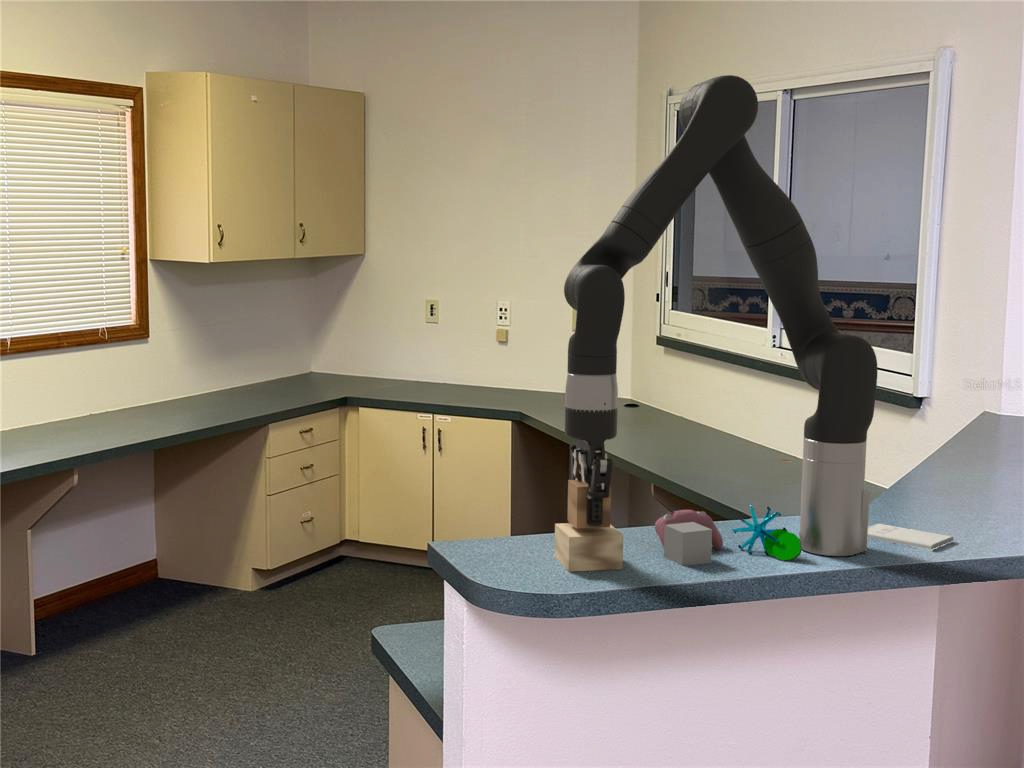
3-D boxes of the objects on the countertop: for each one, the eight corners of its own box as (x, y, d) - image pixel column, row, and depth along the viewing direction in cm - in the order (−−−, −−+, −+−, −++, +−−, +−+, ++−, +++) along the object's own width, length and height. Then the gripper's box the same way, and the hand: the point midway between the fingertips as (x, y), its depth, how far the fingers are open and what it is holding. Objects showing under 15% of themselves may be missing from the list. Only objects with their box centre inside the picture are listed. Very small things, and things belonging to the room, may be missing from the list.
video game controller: (712, 554, 173) (703, 510, 176) (727, 547, 169) (717, 503, 172) (656, 560, 170) (647, 515, 172) (670, 553, 166) (661, 508, 168)
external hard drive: (931, 555, 171) (855, 540, 179) (953, 545, 176) (879, 531, 185) (931, 544, 170) (856, 530, 179) (953, 535, 176) (879, 522, 185)
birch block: (606, 554, 166) (606, 521, 166) (622, 568, 159) (623, 534, 158) (554, 556, 165) (555, 523, 164) (568, 571, 157) (569, 537, 156)
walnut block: (600, 518, 164) (601, 479, 163) (610, 526, 159) (611, 485, 158) (567, 520, 163) (568, 480, 162) (576, 528, 158) (577, 487, 157)
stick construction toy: (720, 534, 171) (750, 493, 171) (738, 551, 176) (767, 512, 176) (780, 573, 162) (811, 530, 163) (797, 590, 167) (827, 548, 168)
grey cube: (692, 554, 168) (693, 521, 167) (711, 562, 163) (712, 529, 162) (663, 557, 166) (664, 524, 165) (682, 566, 161) (683, 532, 160)
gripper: (632, 411, 153) (629, 531, 155) (602, 397, 167) (599, 508, 169) (579, 412, 151) (577, 534, 153) (553, 398, 165) (551, 510, 167)
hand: (589, 520), depth 161 cm, fingers closed on walnut block, 4 cm apart
